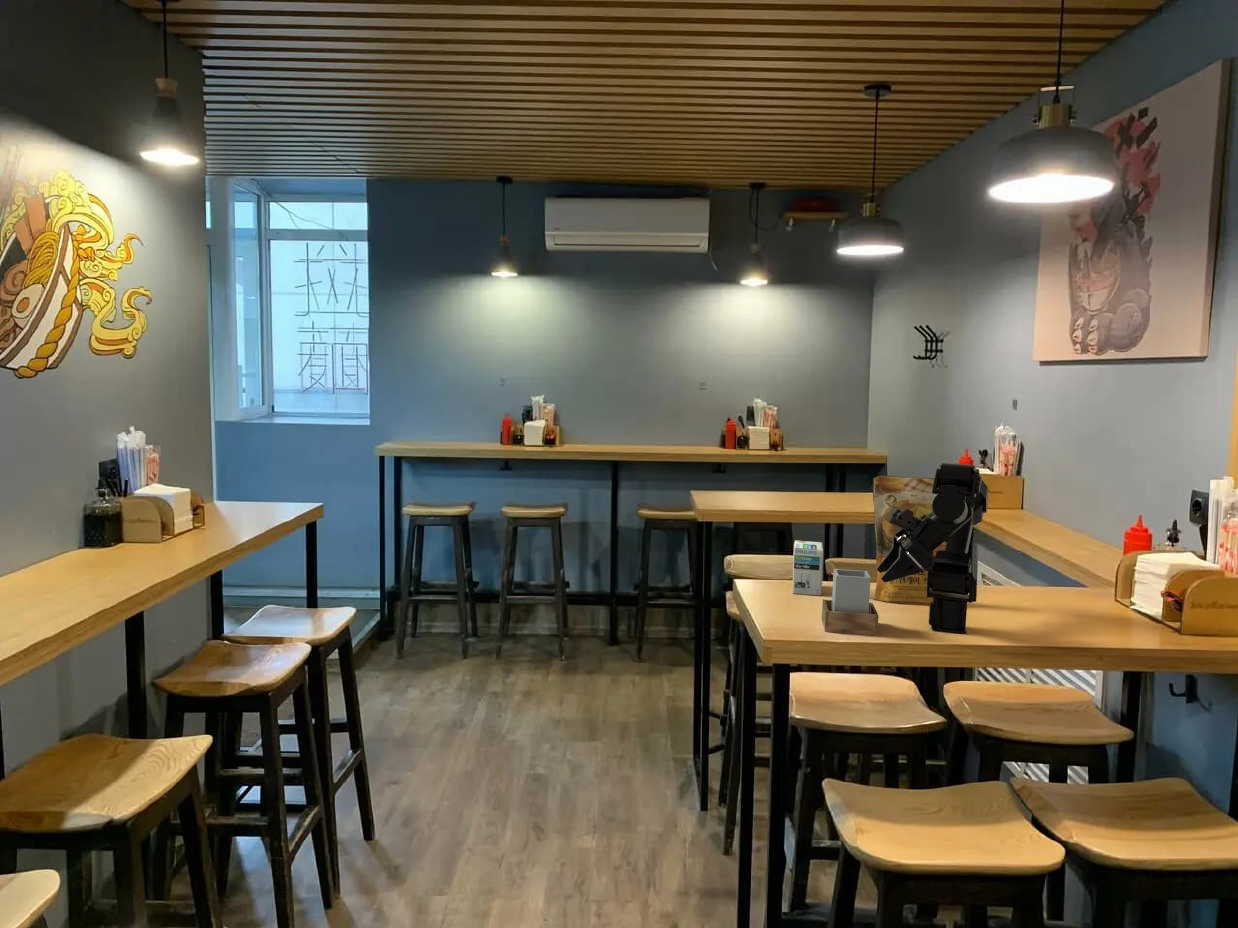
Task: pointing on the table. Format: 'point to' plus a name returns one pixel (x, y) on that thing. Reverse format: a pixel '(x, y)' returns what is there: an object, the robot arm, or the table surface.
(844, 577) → the grey crate
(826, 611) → the walnut crate
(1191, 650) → the table surface
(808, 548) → the light bulb box
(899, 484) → the pancake mix bag
